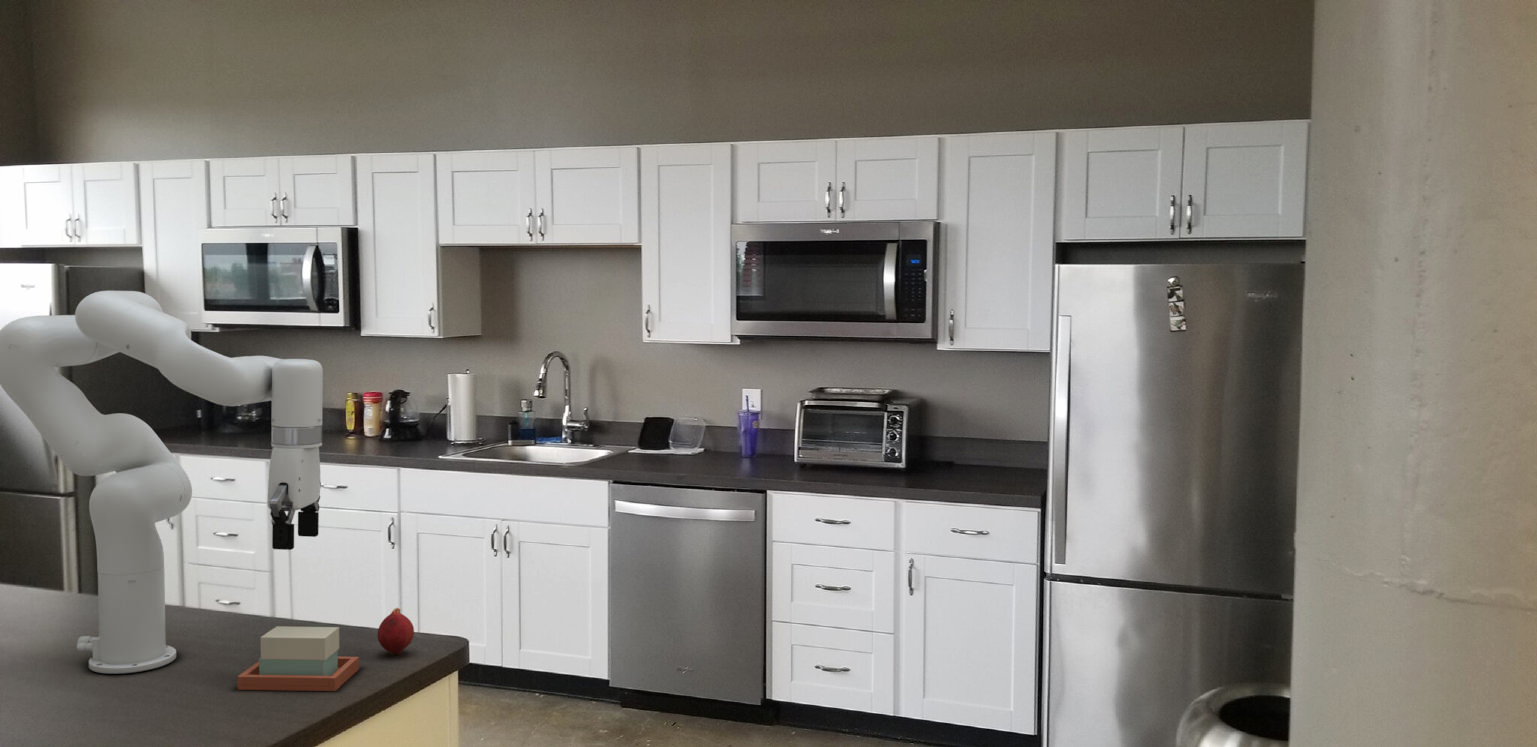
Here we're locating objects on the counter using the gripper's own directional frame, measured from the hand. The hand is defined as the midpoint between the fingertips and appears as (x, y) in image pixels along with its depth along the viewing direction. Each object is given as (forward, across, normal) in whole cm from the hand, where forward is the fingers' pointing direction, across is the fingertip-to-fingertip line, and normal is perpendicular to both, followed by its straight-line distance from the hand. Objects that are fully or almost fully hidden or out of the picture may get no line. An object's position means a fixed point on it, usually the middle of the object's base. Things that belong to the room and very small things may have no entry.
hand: (295, 542), depth 186 cm
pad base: (+20, +5, +3) cm, 21 cm away
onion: (+21, -8, +14) cm, 26 cm away
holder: (+21, +5, +3) cm, 21 cm away
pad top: (+17, +5, +3) cm, 18 cm away
